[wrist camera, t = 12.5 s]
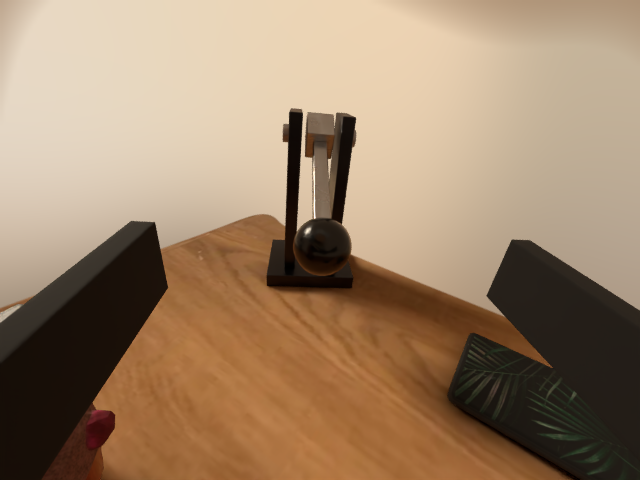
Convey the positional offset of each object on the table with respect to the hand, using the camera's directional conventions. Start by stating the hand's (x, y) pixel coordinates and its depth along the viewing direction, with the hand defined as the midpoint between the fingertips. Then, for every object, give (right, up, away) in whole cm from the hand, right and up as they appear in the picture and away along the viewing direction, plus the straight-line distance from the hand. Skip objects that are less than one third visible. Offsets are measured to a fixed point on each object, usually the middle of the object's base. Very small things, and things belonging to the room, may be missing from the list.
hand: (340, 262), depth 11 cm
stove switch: (-2, -2, +19) cm, 19 cm away
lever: (-1, +4, +11) cm, 12 cm away
